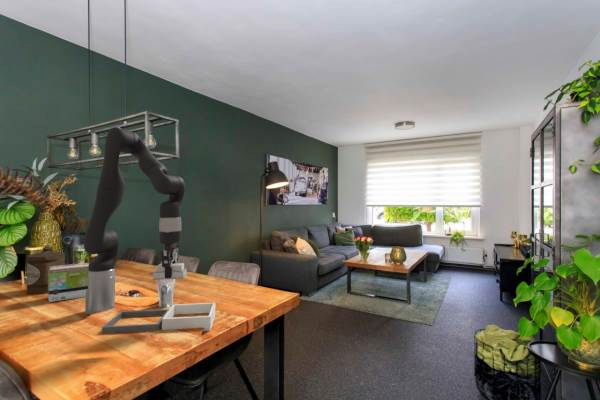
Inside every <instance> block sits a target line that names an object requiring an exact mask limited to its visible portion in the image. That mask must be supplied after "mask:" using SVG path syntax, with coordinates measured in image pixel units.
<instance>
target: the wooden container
mask: <svg viewBox="0 0 600 400" xmlns="http://www.w3.org/2000/svg"><path fill="white" fill-rule="evenodd" d="M26 262H27V265H26V266H27V267H26V293H27V294H29V295H44V294H48V276H49V267H50V266H60V265H66V253H65V252H64V251H52V247H50V246H49V245H48V246H44V247H42V251H41V252H40V253H32V254H28V255H27V257H26Z"/></svg>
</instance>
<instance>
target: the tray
mask: <svg viewBox="0 0 600 400" xmlns="http://www.w3.org/2000/svg"><path fill="white" fill-rule="evenodd" d="M169 310H170V308H165V309H164V308H162V309H161V308H160V309H146V310H143V309H142V310H123V311H120V312H119V313H117V314H116V315H115V316H114V317H113V318H111V319H110V320H109V321H108V322H107V323H105V324H104V325H103V326H102V327H101V334H114V333H115V334H116V333H131V332H133V333H134V332H146V331H148V332H149V331H159V329H160V328H162V319H163V317H164V316H165V315H166V314H167V312H168V311H169ZM152 316H153V317H154V316H155V317H156V316H161V317H160V318H159V320H158V321H157V322H156V323H144V324H143V323H142V324H141V323H139V324H123V325H121V324H120V325H116V324H117V323H118V322H119V321H121V319H122V318H133V317H134V318H135V317H136V318H137V317H152Z"/></svg>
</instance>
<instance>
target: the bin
mask: <svg viewBox="0 0 600 400" xmlns="http://www.w3.org/2000/svg"><path fill="white" fill-rule="evenodd" d="M169 309H170V310H169V311H168V312H167V314H166V315H165V316H164V317H163V319H162V326H161V330H162V331H163V330H164V331H165V330H184V329H185V330H186V329H200V328H201V329H202V332H211V330H212V327H213V324H214V321H215V318H216V302H204V303H203V302H201V303H182V304H181V303H179V304H178V303H177V304H176V303H175V304H173V305H172V306H170V307H169ZM194 314H208V315H200V316H182V317H179V316H178V317H175V315H176V316H177V315H194Z"/></svg>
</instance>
